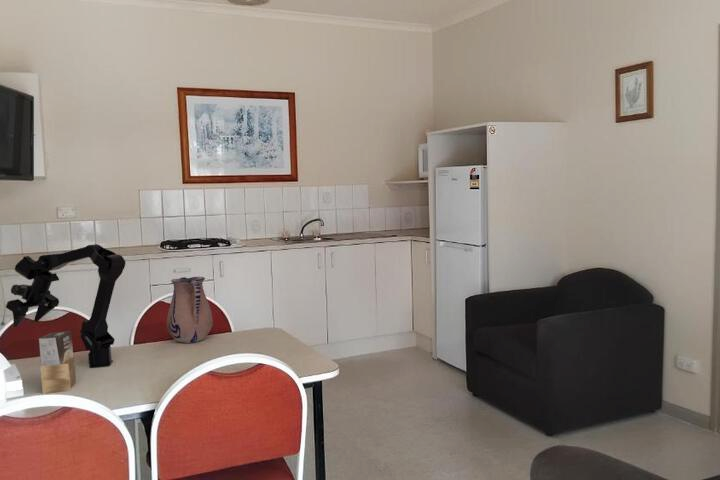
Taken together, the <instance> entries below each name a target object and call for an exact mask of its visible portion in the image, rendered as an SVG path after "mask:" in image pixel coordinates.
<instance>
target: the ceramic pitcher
mask: <svg viewBox="0 0 720 480" xmlns="http://www.w3.org/2000/svg"><path fill="white" fill-rule="evenodd" d="M205 280H206V278H205V277H204V276H192V277H185V276H184V277H183V276H182V277H179V278H173V279H171V280H170V282H171V283H172V285H173V294H172V297H171V301H170V305H169V307H168V313H167V317H166V328H167V330H168V333H169V334H170V336H171V337H172V338H173V339H174V340H175V341H177V342H178V343H180V342H181V343H187V344H188V343H189V344H191V343H197V342H200V341H203V340H204V339H206V337H207V336H208V334H209V333H210V331H211V330H212V327H213V323H214V317H213V314H212V309H211V306H210V304H209V300H208V298H207V295H206V293H205V290H204V286H203V282H204V281H205Z"/></svg>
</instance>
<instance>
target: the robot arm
mask: <svg viewBox="0 0 720 480" xmlns="http://www.w3.org/2000/svg"><path fill="white" fill-rule="evenodd" d="M83 259H90V260H91V262H92V263H93V264H94V265H95V266H97V269H98V270H97V272H98V276H99V283H98V287H97V291H96V295H95V299H94V302H93V303H94V304H93V308H92V311H91V315H90V318H89V319H87V320H84V321H83V322H82V323H81V329H80V331H79V333H80V340H82V343H83V345H84V348H85V351H88V354H87V355H88V364H89V368H91V369H92V368H100V367H102V368H103V367H110V366H111V365H112V363H113V362H114V360H113V359H112V348H111V346H113V345H115V344H114V343H115V338H114V337H113V335H111V333H110V332H109V330H108V329H109V325H108V323H107V315H108V311H109V310H110V309H109V308H110V304H111V300H112V297H113V293H114V290H115V289H114V288H115V286H116V281H117V280H118V279H119V278H120V276H121V275H122V273H123V272H124V269H125V267H126V260H125V258H124V257H123V256H122V255H121V254H119V253H118V254H117V253H116V252H115V251H114V252H113V251H112V250H110V249H107V248H104V247H103V246H102V245H100V244H97V243H96V244H89V245H85V246H83V247H80V248H76V249H73V250H69V251H66V252H61V253H50V254H49V253H48V254H42V255H40V256H39V257H38V259H37V260H34V259H33V258H32V257H30V256H29V255H26V256H23V257H22V259H21V260H19V261H18V262H17V264H15V266H14V272H16V273H17V274H19V275H20V276H22V277H24V279H26V280H29V281H30V280H31V281H32V280H33V281H32V282H31V283H32V284H31V285H29V284H13V285H12V286H11V289H10V293H11V294H12V295H14V296H19V297H21V299H22V300H25V301H22V300H21V299H19V298H17V299H13V300H8V301H7V303H6V305H5V308H6V309H8V310H9V311H10V312H12V317H13V318H12V319H13V320H12V321H13V327H14V328H18V326H19V325H20V324H21V322H22V321H23V320H24V319H25V317H26V316H27V313H28V311H29V308H33V307H34V308H35V307H37V309H36V313H35V315H34V319H33V320H34V322H36V323H37V322H39V320H41V319H42V318H43V317H45V316H46V315H47V314H49V313H50V312H51V311H52V310H54V309H55V308H57V307H58V306H59V304H60V300H59V298H58V297H57V296H55V295H53V294H52V293H51V290H49V289H50V287H51V285H52V282H57V281H60V278H59V276H58V274H57V272H54V273H53V272H52V271H57V270H61V269H62V268H63V267H66V266H67V265H68V264H70V263H73V262H77V261H81V260H83Z"/></svg>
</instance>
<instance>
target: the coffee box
mask: <svg viewBox="0 0 720 480" xmlns="http://www.w3.org/2000/svg"><path fill="white" fill-rule="evenodd" d="M38 344H39V345H38V346H39V357H40V358H39V359H40V367H41V366H50V365H60V364H65V363H66V362H67V361H68V360H69V359H70V358H73V357H74V353H73V351H74V349H73V339H72V330H70V331H67V330H65V331H54V332H49V333H48V334H45V335H43V336H41V337H39V338H38Z"/></svg>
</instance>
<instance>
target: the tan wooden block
mask: <svg viewBox="0 0 720 480" xmlns="http://www.w3.org/2000/svg"><path fill="white" fill-rule="evenodd" d="M75 363H76V362H75V357H74V356H73V358H70V359H69V360H68V361H67V362H66V363H65V364H60V365H50V366H41V365H40V367H39V368H40V378H41V389H42V390H41V392H42V394H50V393H51V394H52V393H61V392H69V391H70V392H71V390H72V388H73V387H74V386H75V385H76V384H77V376H76V364H75Z"/></svg>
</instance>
